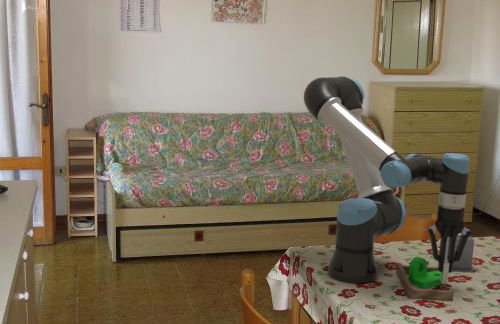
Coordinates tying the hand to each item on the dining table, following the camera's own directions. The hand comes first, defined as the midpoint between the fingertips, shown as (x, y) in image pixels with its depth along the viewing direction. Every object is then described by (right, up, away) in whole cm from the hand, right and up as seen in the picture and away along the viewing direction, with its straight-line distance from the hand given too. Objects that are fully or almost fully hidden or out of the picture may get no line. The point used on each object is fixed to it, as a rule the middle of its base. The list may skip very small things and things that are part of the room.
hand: (443, 282), depth 200 cm
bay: (-6, -1, 0) cm, 6 cm away
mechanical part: (-3, -1, +4) cm, 5 cm away
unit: (+10, +2, +19) cm, 22 cm away
